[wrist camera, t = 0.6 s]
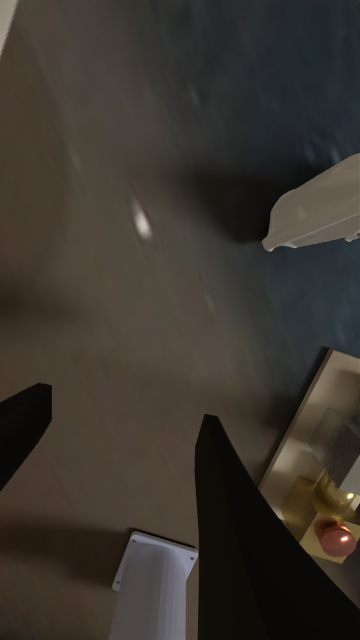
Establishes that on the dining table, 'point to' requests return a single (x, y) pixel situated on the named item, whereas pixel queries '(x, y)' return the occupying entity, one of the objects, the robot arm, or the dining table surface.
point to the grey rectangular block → (339, 448)
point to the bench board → (312, 427)
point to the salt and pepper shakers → (318, 209)
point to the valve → (322, 518)
